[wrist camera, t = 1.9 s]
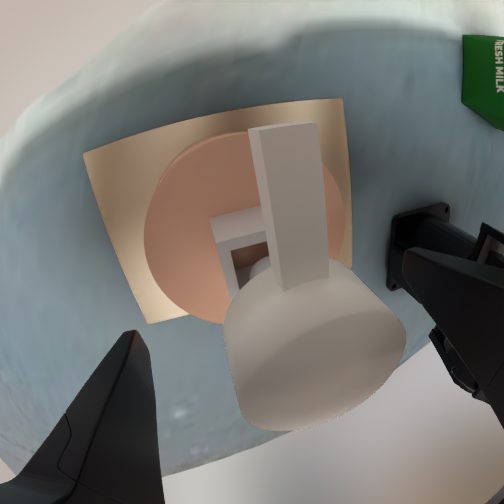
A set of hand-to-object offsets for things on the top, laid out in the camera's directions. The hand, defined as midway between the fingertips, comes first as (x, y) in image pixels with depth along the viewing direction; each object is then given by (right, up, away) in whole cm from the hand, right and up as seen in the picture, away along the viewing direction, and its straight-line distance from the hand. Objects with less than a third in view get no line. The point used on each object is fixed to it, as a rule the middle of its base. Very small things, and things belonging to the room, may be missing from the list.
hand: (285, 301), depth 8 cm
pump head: (-1, +2, +1) cm, 2 cm away
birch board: (-2, +4, +7) cm, 8 cm away
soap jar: (-2, +4, +7) cm, 8 cm away
